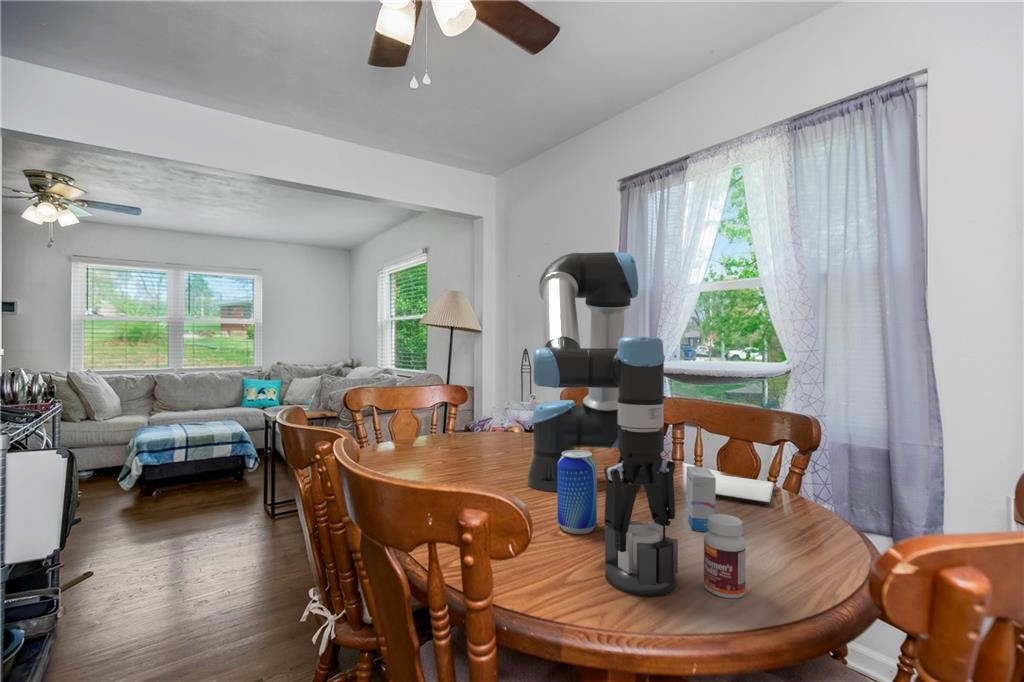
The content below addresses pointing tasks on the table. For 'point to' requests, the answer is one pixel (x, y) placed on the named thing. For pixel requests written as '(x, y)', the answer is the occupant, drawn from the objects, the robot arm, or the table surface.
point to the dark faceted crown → (644, 567)
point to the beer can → (577, 492)
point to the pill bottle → (724, 556)
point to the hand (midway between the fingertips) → (640, 565)
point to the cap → (641, 540)
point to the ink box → (699, 497)
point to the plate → (743, 489)
